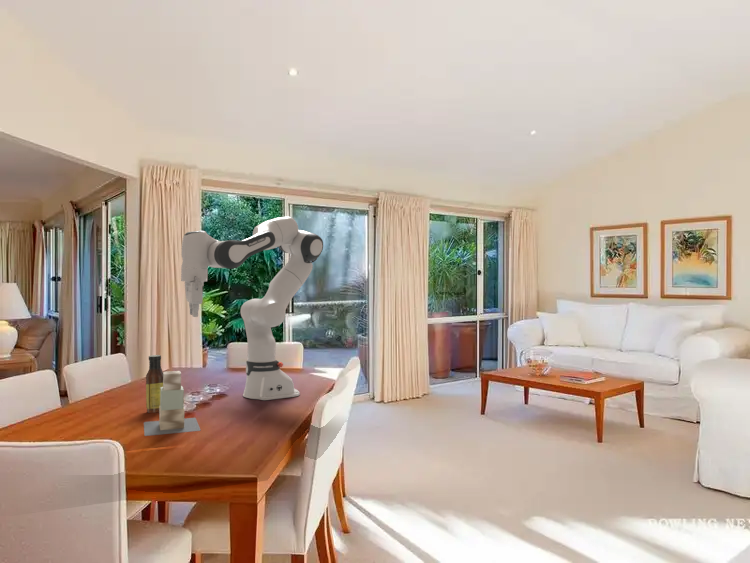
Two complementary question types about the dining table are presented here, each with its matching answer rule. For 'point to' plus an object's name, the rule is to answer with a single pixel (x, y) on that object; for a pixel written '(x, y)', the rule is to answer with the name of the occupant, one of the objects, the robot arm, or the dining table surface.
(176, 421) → the birch block
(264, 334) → the robot arm
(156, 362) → the sauce bottle
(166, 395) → the sage block
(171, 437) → the dining table surface
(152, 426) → the slate mat
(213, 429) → the dining table surface
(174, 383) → the cream cube
